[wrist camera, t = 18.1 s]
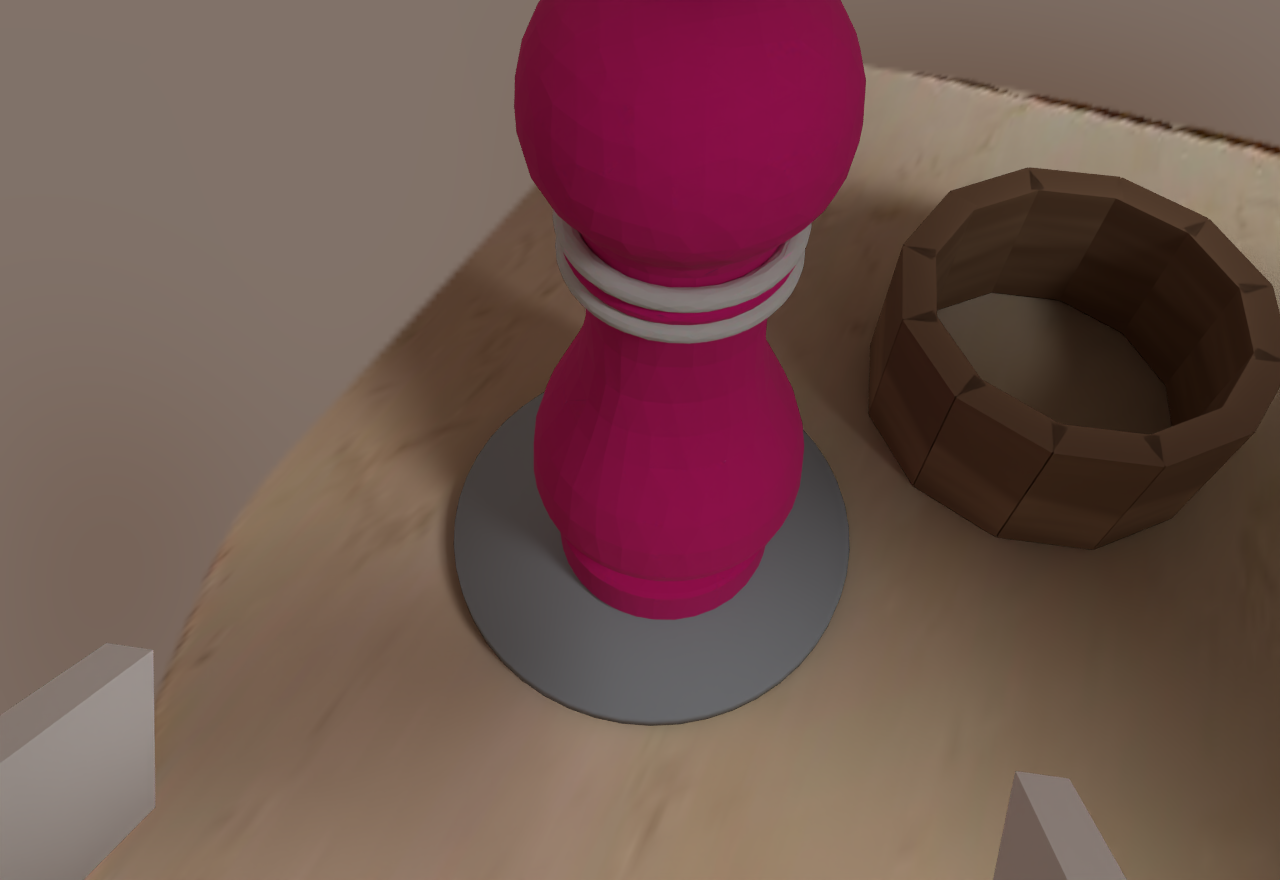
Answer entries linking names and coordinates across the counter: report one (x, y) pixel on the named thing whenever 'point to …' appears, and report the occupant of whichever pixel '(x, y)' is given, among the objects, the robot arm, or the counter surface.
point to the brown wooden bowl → (1104, 289)
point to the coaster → (625, 644)
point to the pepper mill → (679, 274)
